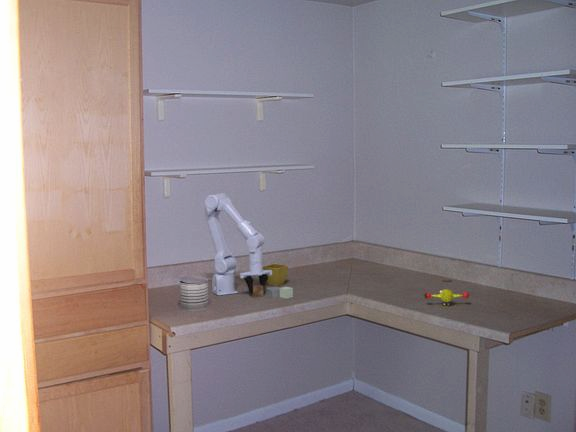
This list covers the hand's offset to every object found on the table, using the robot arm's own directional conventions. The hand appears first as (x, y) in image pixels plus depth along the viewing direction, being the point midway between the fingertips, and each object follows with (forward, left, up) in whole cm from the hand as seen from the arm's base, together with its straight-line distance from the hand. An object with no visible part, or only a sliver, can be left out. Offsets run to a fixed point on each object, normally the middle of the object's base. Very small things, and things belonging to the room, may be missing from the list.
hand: (256, 292), depth 274 cm
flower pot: (+17, +15, -2) cm, 23 cm away
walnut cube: (0, 0, -1) cm, 1 cm away
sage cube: (+10, -8, -2) cm, 13 cm away
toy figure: (+60, -53, -2) cm, 80 cm away
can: (-30, -5, -2) cm, 30 cm away
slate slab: (+8, -2, -2) cm, 8 cm away
